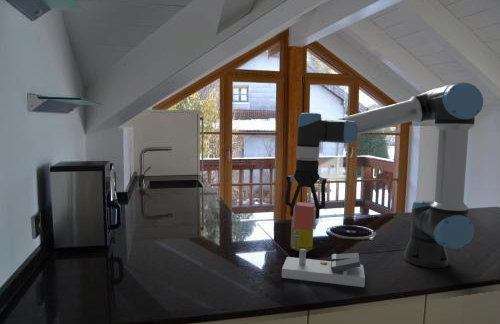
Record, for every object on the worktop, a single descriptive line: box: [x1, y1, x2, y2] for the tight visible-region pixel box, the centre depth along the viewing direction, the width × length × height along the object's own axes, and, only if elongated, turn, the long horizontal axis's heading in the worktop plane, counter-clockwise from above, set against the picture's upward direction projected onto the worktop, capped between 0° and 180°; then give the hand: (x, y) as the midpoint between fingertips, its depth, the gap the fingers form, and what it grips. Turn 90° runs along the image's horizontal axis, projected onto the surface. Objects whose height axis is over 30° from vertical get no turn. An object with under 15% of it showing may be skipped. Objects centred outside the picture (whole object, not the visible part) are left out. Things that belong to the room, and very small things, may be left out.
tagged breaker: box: [330, 252, 360, 262], centre depth 128 cm, size 9×5×2 cm, turn 76°
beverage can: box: [290, 216, 314, 252], centre depth 156 cm, size 9×9×12 cm
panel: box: [281, 249, 366, 288], centre depth 127 cm, size 26×12×8 cm, turn 77°
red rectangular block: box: [294, 201, 316, 231], centre depth 129 cm, size 6×6×8 cm
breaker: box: [331, 256, 361, 272], centre depth 122 cm, size 9×5×2 cm, turn 76°
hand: (304, 226), depth 129 cm, fingers closed on red rectangular block, 6 cm apart
